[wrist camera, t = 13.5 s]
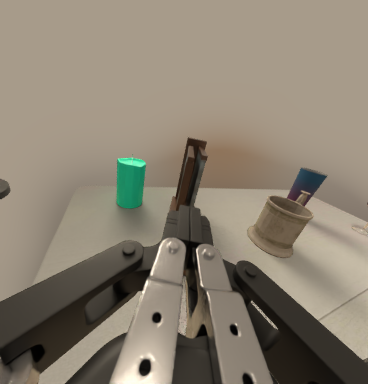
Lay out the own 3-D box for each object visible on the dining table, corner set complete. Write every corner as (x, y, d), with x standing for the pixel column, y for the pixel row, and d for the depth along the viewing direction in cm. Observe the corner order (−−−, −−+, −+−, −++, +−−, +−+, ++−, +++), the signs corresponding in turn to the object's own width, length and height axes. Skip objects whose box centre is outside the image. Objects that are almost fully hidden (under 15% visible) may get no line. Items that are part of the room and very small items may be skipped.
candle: (117, 209, 34) (118, 156, 29) (116, 196, 39) (117, 149, 34) (144, 207, 37) (149, 159, 32) (140, 195, 41) (144, 152, 36)
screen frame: (155, 270, 23) (177, 155, 15) (171, 200, 43) (184, 136, 35) (194, 277, 23) (234, 168, 16) (192, 204, 43) (209, 141, 36)
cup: (305, 217, 51) (332, 176, 45) (291, 217, 49) (318, 174, 43) (288, 206, 57) (310, 168, 51) (274, 206, 55) (296, 166, 48)
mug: (281, 264, 29) (317, 213, 24) (239, 232, 36) (260, 186, 31) (305, 242, 38) (335, 201, 33) (268, 219, 44) (288, 182, 39)
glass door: (170, 231, 28) (187, 156, 22) (176, 202, 38) (188, 145, 32) (177, 233, 28) (195, 158, 22) (180, 203, 39) (193, 146, 32)
